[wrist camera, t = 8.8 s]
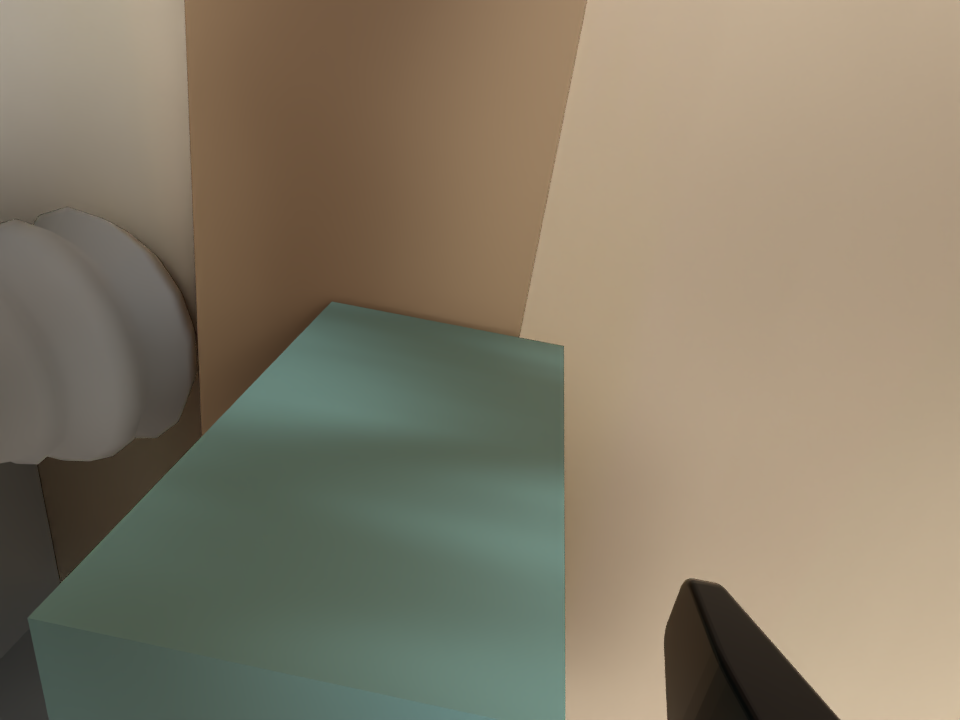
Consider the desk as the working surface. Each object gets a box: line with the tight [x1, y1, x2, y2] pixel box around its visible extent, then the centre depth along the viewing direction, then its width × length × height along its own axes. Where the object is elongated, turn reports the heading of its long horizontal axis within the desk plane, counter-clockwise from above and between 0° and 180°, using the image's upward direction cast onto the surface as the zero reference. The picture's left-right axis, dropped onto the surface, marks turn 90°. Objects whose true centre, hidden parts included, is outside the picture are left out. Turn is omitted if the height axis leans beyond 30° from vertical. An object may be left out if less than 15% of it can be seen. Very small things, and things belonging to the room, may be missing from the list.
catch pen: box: [0, 461, 60, 720], centre depth 11 cm, size 9×19×5 cm, turn 172°
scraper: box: [28, 0, 587, 720], centre depth 9 cm, size 5×14×9 cm, turn 171°
